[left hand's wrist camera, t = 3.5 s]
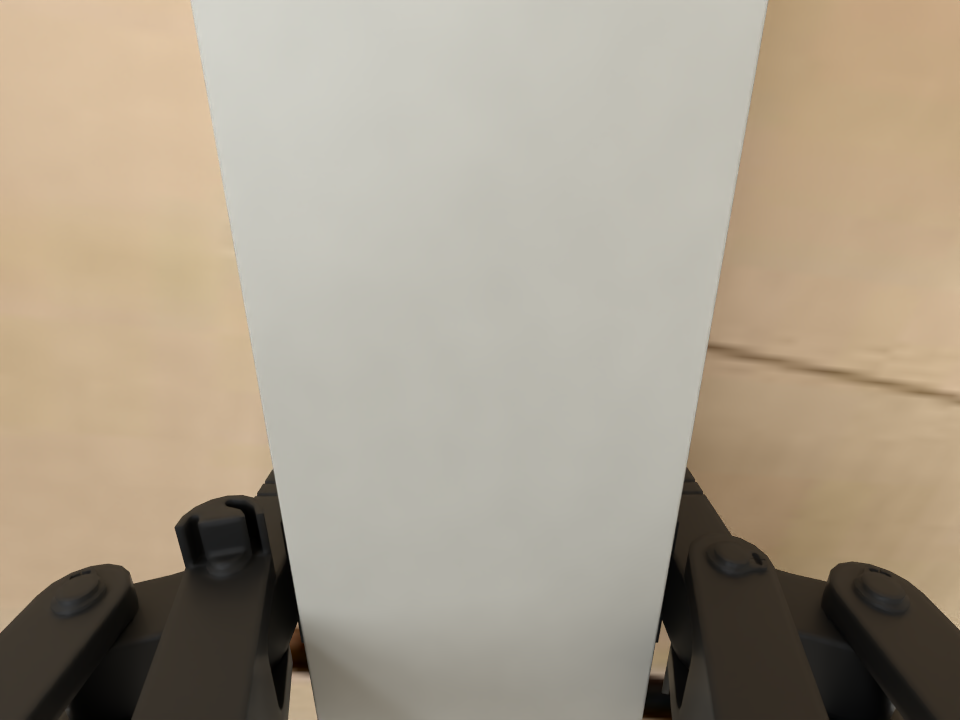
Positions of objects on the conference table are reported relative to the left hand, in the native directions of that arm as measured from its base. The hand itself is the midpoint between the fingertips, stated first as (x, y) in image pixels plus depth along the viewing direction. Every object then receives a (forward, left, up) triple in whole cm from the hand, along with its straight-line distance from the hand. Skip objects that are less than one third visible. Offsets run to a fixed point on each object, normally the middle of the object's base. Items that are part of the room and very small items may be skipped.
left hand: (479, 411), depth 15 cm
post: (+15, +17, -1) cm, 23 cm away
